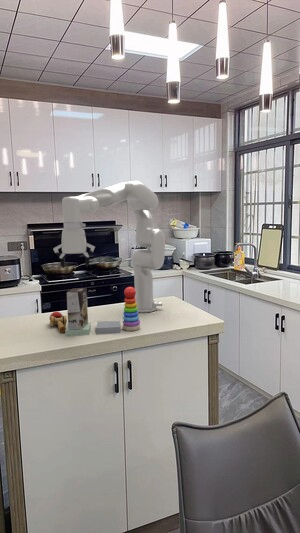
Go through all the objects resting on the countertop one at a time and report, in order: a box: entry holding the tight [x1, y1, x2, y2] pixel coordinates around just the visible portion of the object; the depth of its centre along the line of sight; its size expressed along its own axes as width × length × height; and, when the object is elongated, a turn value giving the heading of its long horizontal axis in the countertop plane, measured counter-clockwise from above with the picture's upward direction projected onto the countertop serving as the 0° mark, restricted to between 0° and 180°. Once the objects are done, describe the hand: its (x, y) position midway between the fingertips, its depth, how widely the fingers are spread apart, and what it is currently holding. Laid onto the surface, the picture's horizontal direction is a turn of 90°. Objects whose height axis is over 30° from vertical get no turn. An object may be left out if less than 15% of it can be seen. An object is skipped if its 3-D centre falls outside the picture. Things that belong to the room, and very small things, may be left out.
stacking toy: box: [122, 286, 141, 332], centre depth 164 cm, size 8×8×19 cm
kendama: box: [49, 311, 68, 334], centre depth 170 cm, size 8×6×18 cm
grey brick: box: [95, 320, 121, 335], centre depth 164 cm, size 10×10×3 cm
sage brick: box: [64, 322, 92, 337], centre depth 163 cm, size 10×10×3 cm
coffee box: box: [66, 287, 89, 329], centre depth 162 cm, size 9×6×16 cm
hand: (75, 266), depth 160 cm, fingers open, 9 cm apart
